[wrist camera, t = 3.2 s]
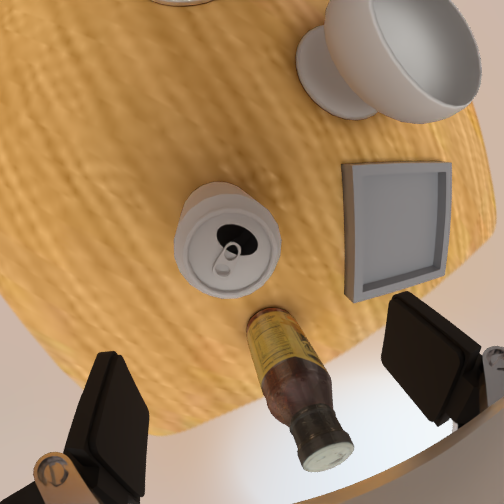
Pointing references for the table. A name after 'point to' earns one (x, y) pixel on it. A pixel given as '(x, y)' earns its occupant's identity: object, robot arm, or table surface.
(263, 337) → the sauce bottle
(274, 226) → the can
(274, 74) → the table surface
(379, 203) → the tray
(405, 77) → the chalice
